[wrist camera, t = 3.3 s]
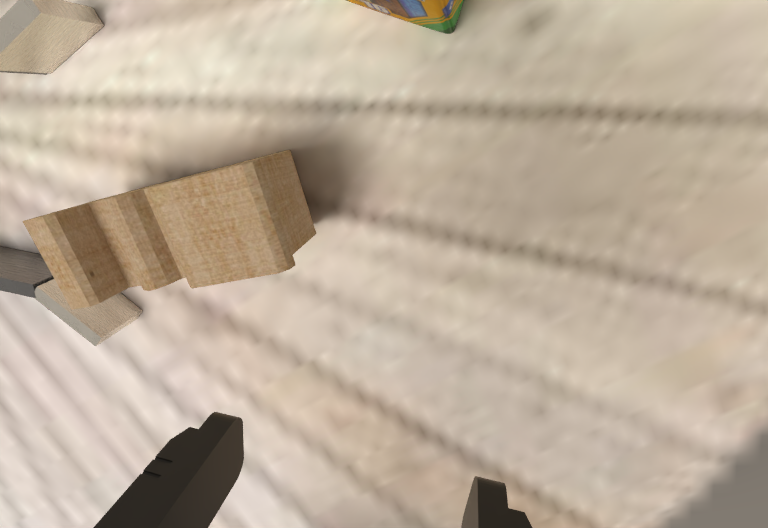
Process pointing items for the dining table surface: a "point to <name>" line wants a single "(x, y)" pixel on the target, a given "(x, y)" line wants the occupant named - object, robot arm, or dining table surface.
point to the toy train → (179, 232)
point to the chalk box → (419, 11)
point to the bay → (41, 56)
